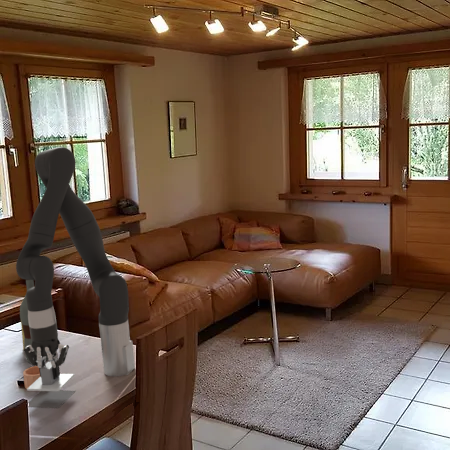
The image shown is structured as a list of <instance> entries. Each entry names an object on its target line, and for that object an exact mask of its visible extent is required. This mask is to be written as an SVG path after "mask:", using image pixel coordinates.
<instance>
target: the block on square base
mask: <svg viewBox="0 0 450 450" xmlns="http://www.w3.org/2000/svg"><path fill="white" fill-rule="evenodd" d="M52 368H53V367H52V365H51V362H50V361H46V362H45V365H44V366H43V367H42V368H40V373H41V377H39V378H38V379H37V380H36V381H35V382H34V383H33V384H32V385H31V386H30V387H28V388H27V389H26V391H28V392H41V391H60V390H62V389H63V388H64V387H65V386H66V385H67V384H68V383H69V382H70V381H71V380H72V379H73V378H74V376H75V373H60V376H59V377H58V378H57V379H56V380H54V379H53V372H52Z"/></svg>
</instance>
